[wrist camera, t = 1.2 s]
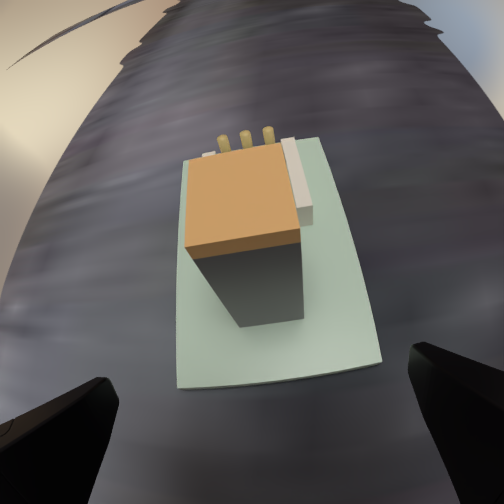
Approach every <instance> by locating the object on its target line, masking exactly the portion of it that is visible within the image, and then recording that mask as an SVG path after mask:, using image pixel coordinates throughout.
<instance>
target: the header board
mask: <svg viewBox="0 0 504 504" xmlns="http://www.w3.org/2000/svg"><path fill="white" fill-rule="evenodd" d="M263 135H264V140H265V145H269V144H276V143H275V138H274V132H273V128H272V127H270V126H267V127H264V128H263ZM240 138H241V142H242V146H243V149H246V148H252V147H253V144H252V139H251V135H250V132H249V131H248V130H244V131H242V132H240ZM217 141H218V144H219V147H220V150H221V153H225V152H230V151H231V148H230V145H229V141H228V138H227V136H226V135H220V136H218V138H217ZM280 143H281V146H282V150H283V154H284V158H285V162H286V167H287V171H288V175H289V180H290V184H291V188H292V193H293V197H294V202H295V206H296V211H297V216H298V220H299V225H300V234H301V252H302V272H303V296H304V319H299V320H292V321H286V322H279V323H272V324H265V325H258V326H250V327H242V328H239V326H238V325H237V323H236V322H235V321H234V319H233V318H232V316H231V315H230V313H229V312H228V311H227V309H226V308H225V306H224V305H223V304H222V302H221V301H220V299H219V298H218V296H217V295H216V293H215V292H214V291H213V289H212V288H211V286H210V285H209V283H208V282H207V280H206V279H205V277H204V276H203V274H202V273H201V271H200V270H199V269H198V267H197V266H196V264H195V263H194V261H193V260H192V258H191V257H190V255H189V254H188V252H187V251H186V249H185V247H184V243H185V217H186V197H187V181H188V166H189V160H187V161H183V173H182V185H181V198H180V214H179V231H178V253H177V286H176V362H177V388H178V389H182V390H194V389H213V388H227V387H239V386H250V385H259V384H268V383H277V382H284V381H292V380H299V379H305V378H312V377H318V376H324V375H329V374H335V373H340V372H346V371H351V370H356V369H360V368H365V367H370V366H374V365H378V364H380V363H381V362H382V358H381V353H380V348H379V343H378V338H377V333H376V329H375V324H374V320H373V315H372V311H371V307H370V303H369V298H368V294H367V290H366V286H365V283H364V279H363V275H362V271H361V267H360V264H359V260H358V256H357V253H356V249H355V246H354V242H353V239H352V236H351V232H350V229H349V226H348V222H347V219H346V216H345V213H344V209H343V206H342V203H341V200H340V197H339V194H338V191H337V188H336V185H335V182H334V179H333V176H332V174H331V171H330V168H329V165H328V162H327V159H326V157H325V154H324V151H323V149H322V146H321V143H320V141H319V138H318V137H316V138H308V139H301V140H295V139H294V137H292V138H286V139H281V142H280ZM262 146H263V145H262ZM256 147H257V146H256ZM240 150H241V149H240ZM234 151H235V150H234ZM215 154H216V152H215V151H213V152H208V153H204V154H202V157H206V156H211V155H215ZM219 154H220V153H219ZM200 158H201V157H200ZM196 159H197V158H196ZM191 160H192V159H191Z"/></svg>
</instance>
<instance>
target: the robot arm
mask: <svg viewBox="0 0 504 504" xmlns="http://www.w3.org/2000/svg"><path fill="white" fill-rule="evenodd" d="M408 374H409V378H410V381H411V383H412V386H413V389H414V392H415V395H416V398H417V401H418V404H419V407H420V410H421V413H422V415H423V418H424V420H425V422H426V425H427V427H428V429H429V431H430V433H431V435H432V437H433V440H434V442H435V444H436V446H437V448H438V451H439V453H440V455H441V458H442V460H443V462H444V464H445V467H446V469H447V471H448V474H449V476H450V479H451V481H452V483H453V486H454V488H455V491H456V493H457V496H458V498H459V501H460V504H504V371H501V370H499V369H496V368H493V367H490V366H488V365H485V364H482V363H479V362H477V361H474V360H471V359H469V358H466V357H463V356H461V355H458V354H455V353H453V352H450V351H447V350H445V349H442V348H439V347H437V346H434V345H432V344H429V343H426V342H420V343H416V344H413V345H411V347H410V351H409V363H408ZM118 407H119V398H118V396H117V394H116V391H115V389H114V387H113V385H112V383H111V381H110V379H109V378H107V377H96V378H94V379H92V380H90V381H88V382H86V383H84V384H82V385H80V386H79V387H77V388H75V389H73V390H71V391H69V392H67V393H65V394H63V395H61V396H59V397H57V398H55V399H53V400H51V401H49V402H47V403H45V404H43V405H41V406H39V407H37V408H35V409H33V410H30V411H28V412H26V413H24V414H22V415H20V416H18V417H16V418H15V419H12V420H10V421H7V422H5V423H3V424H1V425H0V504H88V501H89V498H90V495H91V492H92V489H93V486H94V483H95V480H96V477H97V475H98V472H99V469H100V466H101V463H102V461H103V458H104V455H105V452H106V450H107V447H108V444H109V441H110V437H111V433H112V429H113V425H114V422H115V418H116V414H117V410H118Z"/></svg>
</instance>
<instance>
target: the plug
mask: <svg viewBox="0 0 504 504" xmlns="http://www.w3.org/2000/svg"><path fill="white" fill-rule="evenodd" d="M184 247H185V249H186V251H187V252H188V254H189V255H190V257H191V258H192V260H193V261H194V263H195V264H196V266H197V267H198V269H199V270H200V271H201V273H202V274H203V276H204V277H205V279H206V280H207V282H208V283H209V285H210V286H211V288H212V289H213V291H214V292H215V293H216V295H217V296H218V298H219V299H220V301H221V302H222V304H223V305H224V306H225V308H226V309H227V311H228V312H229V313H230V315H231V316H232V318H233V319H234V321H235V322H236V323H237V325H238V326H239V328H242V327H250V326H258V325H265V324H272V323H279V322H286V321H292V320H299V319H304V296H303V272H302V252H301V234H300V225H299V220H298V216H297V211H296V206H295V202H294V197H293V193H292V188H291V184H290V180H289V175H288V171H287V167H286V162H285V158H284V154H283V150H282V146H281V143H276V144H269V145H263V146H257V147H252V148H246V149H241V150H235V151H230V152H225V153H220V154H215V155H211V156H206V157H201V158H197V159H192V160H189V166H188V181H187V197H186V217H185V243H184Z"/></svg>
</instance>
